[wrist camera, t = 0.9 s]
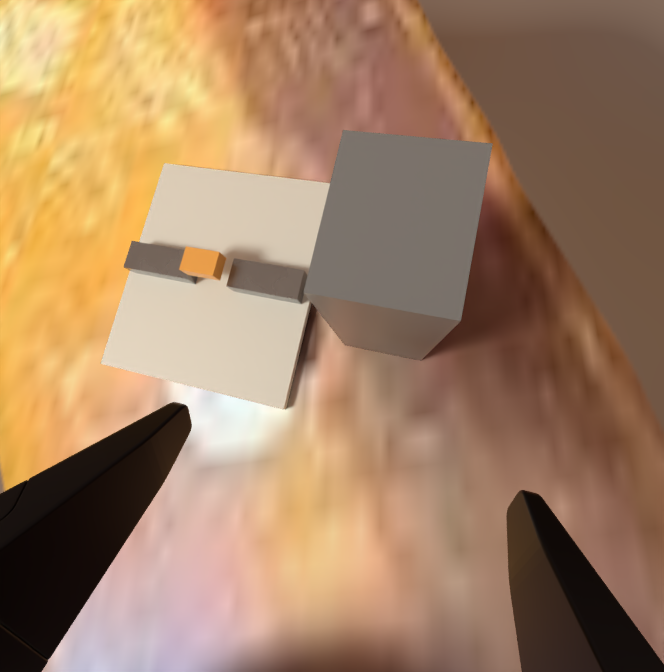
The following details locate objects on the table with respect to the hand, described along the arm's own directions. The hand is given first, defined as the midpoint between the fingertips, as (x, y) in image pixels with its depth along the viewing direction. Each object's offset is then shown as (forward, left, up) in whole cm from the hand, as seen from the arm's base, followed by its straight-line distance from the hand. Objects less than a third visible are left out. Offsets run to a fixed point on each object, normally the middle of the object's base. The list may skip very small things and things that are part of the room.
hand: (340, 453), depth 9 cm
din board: (+3, +14, -13) cm, 19 cm away
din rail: (+3, +14, -13) cm, 19 cm away
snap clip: (+3, +14, -11) cm, 18 cm away
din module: (+7, +2, -13) cm, 15 cm away
